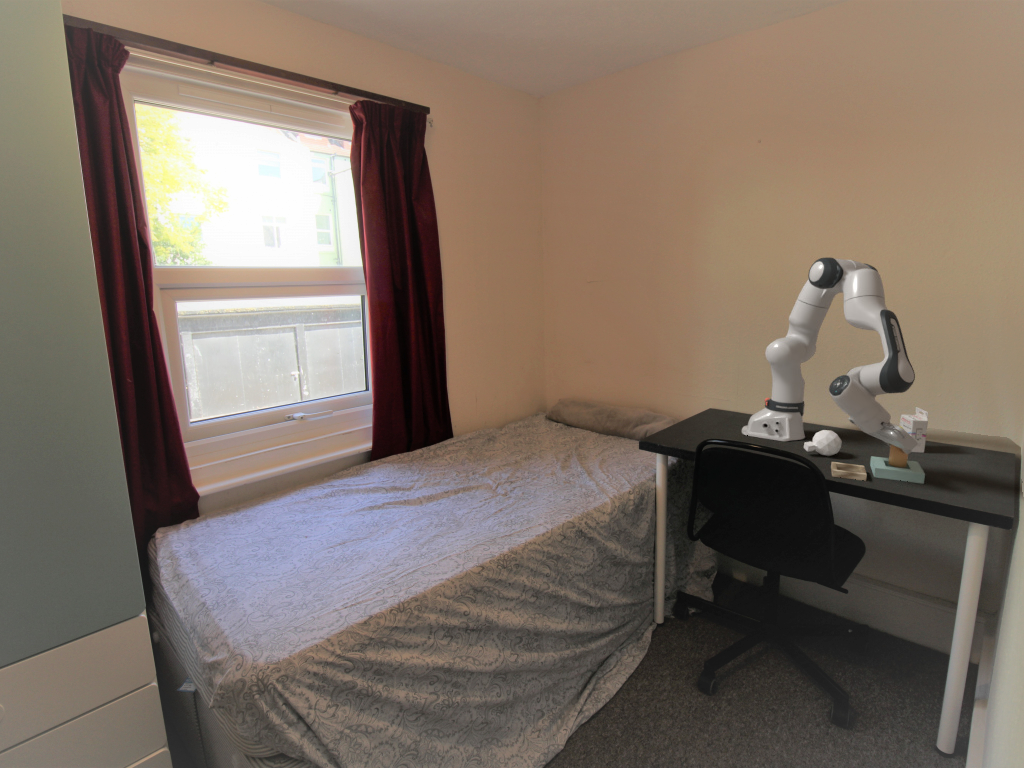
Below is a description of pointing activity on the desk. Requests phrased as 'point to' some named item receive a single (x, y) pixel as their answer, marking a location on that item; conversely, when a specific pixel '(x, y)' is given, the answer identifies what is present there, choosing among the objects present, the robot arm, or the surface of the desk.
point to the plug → (897, 457)
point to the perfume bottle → (824, 443)
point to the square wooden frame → (848, 471)
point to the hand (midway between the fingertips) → (901, 449)
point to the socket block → (897, 470)
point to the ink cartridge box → (916, 427)
